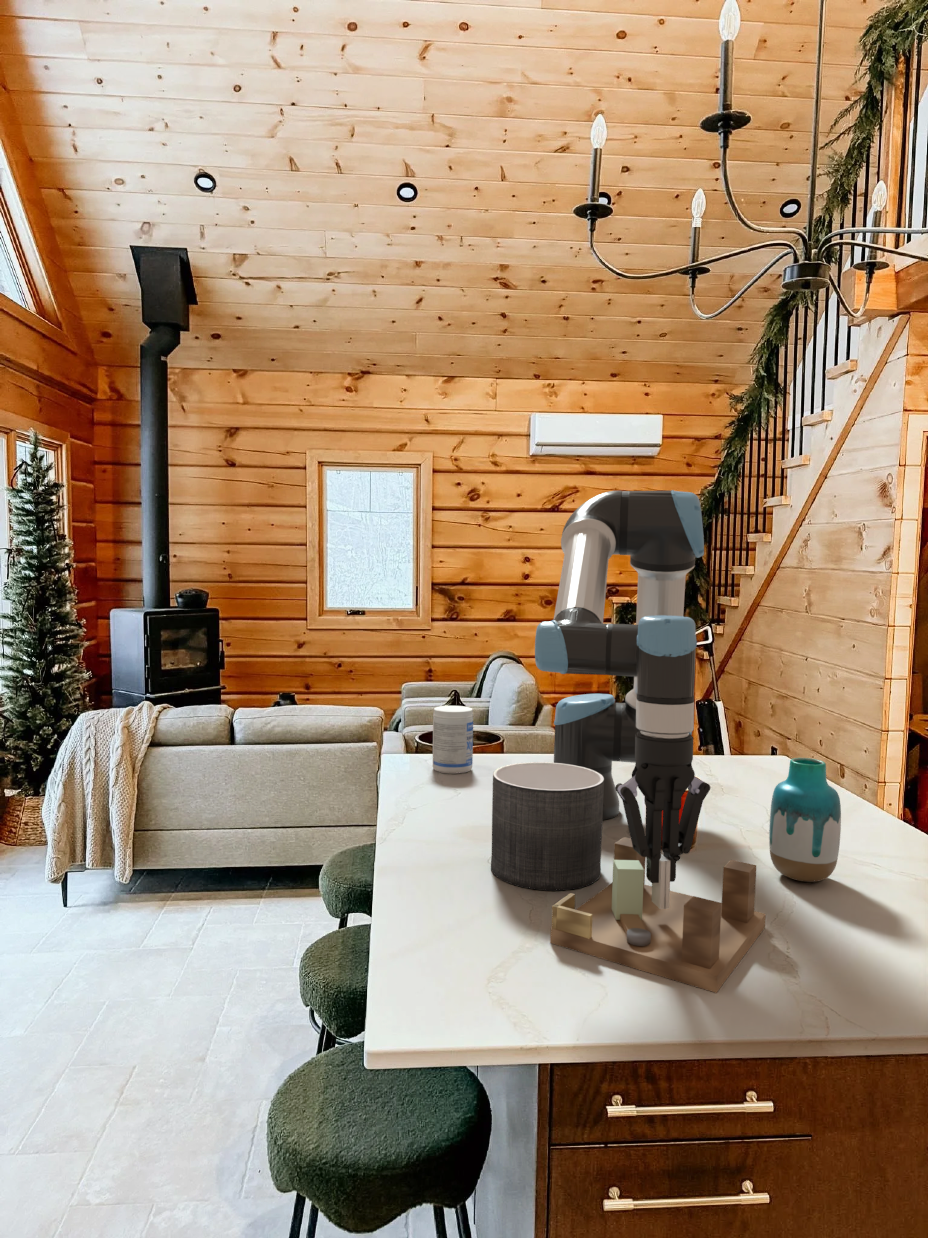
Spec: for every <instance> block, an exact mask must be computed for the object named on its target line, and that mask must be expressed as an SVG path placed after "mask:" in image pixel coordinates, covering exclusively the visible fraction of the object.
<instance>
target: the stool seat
mask: <svg viewBox="0 0 928 1238" xmlns="http://www.w3.org/2000/svg"><path fill="white" fill-rule="evenodd" d="M613 846H614V849H613V860H639V862H640V864H641V865H642V867H643V869H644V882H643V908H642V920H641V921H642V923H643V925H644V927H645V929H646V930H647V931H649V932H650V933H651V943H650V944H649V945H647V946H636V945H632V944H630V943H628V942H627V935H626V932H625V930H624V928H623V925H622V923H621V921H620V920H616V918H615V916H614V914H613V911H612V883H613V881H612V882H611V883H609V884H608V885H606V886H605V887H604V888H602V890H600V891H598V892H597V893H595V895H593V896H592V897H590V898H589V899H588V900H586V901H585V902H584V903H583V904H581V905H580V906H578V907H577V908H576V894H575V893H572V892H570V893H568V894H567V895H566V896H564V897H563V898H561V899H560V900H559V901H557V902H555V903H554V904H553V905H551V927H550V937H549V938H550V939H549V943H550V944H552V945H556V946H559V947H563V948H566V949H568V950H573V951H575V952H579V953H582V954H585V955H587V956H593V957H595V958H599V959H603V960H605V961H609V962H611V963H612V962H613V963H615V964H619V965H622V966H626V967H629V968H632V969H636V970H638V971H642V972H645V973H649V974H653V975H656V976H659V977H661V978H662V977H663V978H665V979H669V980H672V981H676V982H677V983H678V982H679V983H682V984H685V985H689V986H692V987H696V988H699V989H702V990H706V991H707V992H708V991H709V992H712V993H715V994H717V993H718V992H719V990H720V989H721V988H722V986H723V985H724V984H725V982H726V981H727V980H728V978H729V977H730V976H731V974H732V973H733V971H734V970H735V968H736V967H737V966H738V965H739V963H740V962H741V960H742V959H743V958H745V956H746V954H747V953H748V951H749V950H750V948H751V947H752V946H753V945H754V943H755V942H756V940H757V939H758V938H759V936H760V935H761V934H762V933H763V931H764V930H765V929H766V916H767V914H766V913H764V912H761V911H757V910H755V902H756V882H757V880H756V879H757V864H754V863H753V864H752V863H749V862H743V861H738V860H734V859H730V860H729V861H728V862H727V863H726V864H725V865H724V866H723V867H722V868H723V871H722V888H721V889H722V892H721V902H720V901H715V900H711V899H707V898H702V897H699V896H695V895H690V894H686V893H681V892H677V891H673V890H670V900H669V908H668V909H659V908H658V907H657V906H656V905H655V904H654V903H653V902H652V885H647V884H645V881H646V879H645V878H646V877H645V875H646V859H647V858H646V857H642V856H641V855H640V854H638V853H637V852H636V851H635V850H634V849H633V845H632V841H631V837H625V836H624V837H622V838H621V839H619V840H618V841H616V842H614V845H613Z"/></svg>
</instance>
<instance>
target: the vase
mask: <svg viewBox="0 0 928 1238" xmlns="http://www.w3.org/2000/svg"><path fill="white" fill-rule="evenodd" d="M787 774H788V775H787V778H786V779H785V780H783V781H781V782H778V783H777V784H776V786H775V787H774V789H773V793H772V797H771V804H770V810H769V811H770V812H769V813H770V814H769V824H768V825H769V826H768V827H769V829H768V833H769V834H768V836H769V837H768V841H769V842H768V845H769V855H770V859H771V863H772V865H773V866H774V867H775V869H776V870H777V872H779V873H780V874H781V875H783V876H785V877H787V878H789V879H792V880H796V881H799V882H807V883H811V882H812V883H813V882H820V881H823V880H826V879H828V878H829V877H830V876H831V875H832V874H833V873H834V871H835V869H836V866H837V864H838V858H839V852H840V842H841V831H842V830H841V829H842V828H841V827H842V824H841V823H842V810H841V807H842V806H841V805H842V804H841V798H840V795H839V793H838V791H837V790H836V789H835V788H834V787H832V786H830V785H829V784H828V781H827V763H826V762H825V761H823V760H821V759H816V758H809V757H793V758H791V759H790V760H789V768H788V773H787Z"/></svg>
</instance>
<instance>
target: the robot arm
mask: <svg viewBox="0 0 928 1238" xmlns="http://www.w3.org/2000/svg"><path fill="white" fill-rule="evenodd" d="M700 501H701V500H700V499H699V497H698V495H697V494H695V493H694V492H692V491H691V492H689V491H680V490H679V491H678V490H674V489H672V490H612V491H611V490H610V491H606V492H601V494H597V495H594V496H593V497H591V498H590V499H588V500H586V501H585V502H584V503H582V504H581V505H580V506H578V507H577V509H575V510H574V511H573V512H572V513H571V514H570V516H569V517H568V519H567V520H566V522H565V525H564V527H563V530H562V534H561V538H560V546H561V547H560V548H561V551H562V553H563V554H564V556H563V562H562V568H561V572H560V573H561V574H560V580H559V585H558V586H559V587H558V591H557V597H556V602H555V607H554V608H555V609H554V616H553V619H552V620H550V621H541V622H539V624H538V625H537V626H536V631H535V637H534V640H535V641H534V659H535V660H534V662H535V665H536V667H537V669H538V670H539V671H542V672H549V673H559V674H561V675H567V674H570V675H597V676H598V675H599V676H602V675H603V676H617V677H618V676H619V677H633V688H632V689H631V690H630V691H628V692H627V693H626V695H625V697H624V698H625V700H624V701H625V702H616V699H615V696H614V695H612V694H609V693H586V694H585V693H584V694H578V695H572V696H568V697H565V698H561V700H559V701H558V703H557V704H556V706H555V715H554V722H553V725H554V741H553V743H554V745H553V763H561V764H569V765H575V766H580V767H584V768H588V769H591V770H594V771H596V772H598V773H600V774H601V775H602V776H603V777H604V794H603V818H602V821H603V820H609V819H613V818H614V817H617V816H618V815H619V814H620V799H619V797H620V798H621V800H622V804H623V809H624V814H625V818H626V821H627V822H626V824H627V827H628V831H629V832H628V833H629V836H630V838H631V841H632V845H633V849H634V850H635V851H636V852H637V853H638V854H640V855H641V856H642V857H646V858H645V859H646V866H645V875H646V879H647V880H648V881H649V882H650V883H651V886H652V902H653V903H654V904H655V905H656V906H657V907H658V908H659V909H668V908H669V900H670V891H671V890H670V889H671V882H675V881H676V877H677V862H679V861H680V860H681V855H684V854H685V855H687V854H689V853H690V852H691V849H692V845H693V842H694V837H695V833H696V830H697V826H698V822H699V817H700V814H701V811H702V807H703V803H704V800H705V799H706V797H707V795H708V794H709V792H710V790H711V785H710V784H709V783H707V782H705V781H703V780H702V779H699V778H698V777H696V776H695V775H696V774H695V771H694V768H693V765H692V763H693V761H694V736H692V735H693V731H694V729H695V728H694V726H695V725H694V723H695V695H694V694H695V692H694V691H695V676H696V675H695V674H696V651H697V650H696V649H697V645H698V644H697V643H698V640H697V633H696V623H695V620H694V619H693V618H692V617H689V616H684V612H685V611H684V609H685V608H684V607H685V592H686V590H685V589H686V576H687V574H688V573H689V572H691V571H692V570H693V569H694V568H695V567H696V565H695V564H696V558H698V559H699V558H701V557H704V555H705V539H704V538H705V537H704V528H703V527H704V526H703V516H702V515H703V514H702V508H701V507H702V506H701V502H700ZM613 555H619V556H629V558H630V560H629V565H630V566H631V567H632V568H633V569H634V570H635V571H636V572H637V594H636V615H635V616H636V618H635V619H636V621H635V624H627V623H626V624H625V623H604V617H605V604H606V595H607V594H606V592H607V583H608V570H609V560H610V559H611V557H612V556H613ZM613 762H622V763H634V764H635V765H634V768H633V770H632V772H631V778H630V779H628V780H627V781H625V782H624V783H621V782H620V783H617V784H615V782H614V778H613V774H612V773H613V772H612V769H613ZM637 788H638V789H639V790H640V792H641V793H642V796H644V805H645V827H644V824H643V819H642V815H641V811H640V805H639V802H638V800H637V798H636V797H637V796H638V791H637ZM687 790H688V792H687V794H686V795H685V800H684V804H683V807H682V797H683V796H684V794H685V792H686V791H687ZM681 809H682V811H681V815H680V810H681ZM644 828H645V829H644ZM662 853H663V854H662Z"/></svg>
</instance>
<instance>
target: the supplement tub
mask: <svg viewBox="0 0 928 1238" xmlns="http://www.w3.org/2000/svg"><path fill="white" fill-rule="evenodd" d="M473 712H474V711H473V708H472V707H469V706H463V705H441V706H436V707H434V708H433V717H432V768H433V770H434V771H437V772H438V773H442V774H463V773H464V774H465V773H467V772H470V771H471V770H472V769H473V756H474V754H473V753H474V750H473V749H474V744H473V743H474V713H473Z"/></svg>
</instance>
